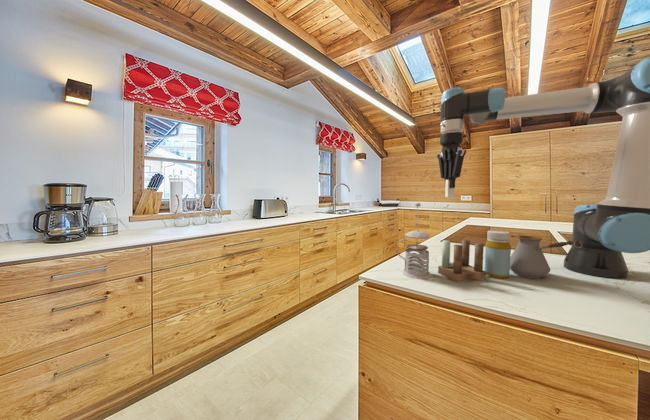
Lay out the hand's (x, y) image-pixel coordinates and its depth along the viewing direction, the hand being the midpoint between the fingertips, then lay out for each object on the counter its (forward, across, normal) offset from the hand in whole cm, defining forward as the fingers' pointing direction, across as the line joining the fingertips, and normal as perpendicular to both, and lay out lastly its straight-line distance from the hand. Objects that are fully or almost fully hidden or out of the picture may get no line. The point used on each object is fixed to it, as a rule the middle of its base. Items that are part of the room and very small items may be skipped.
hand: (449, 196), depth 93 cm
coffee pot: (+27, +21, +18) cm, 38 cm away
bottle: (+27, +14, +8) cm, 31 cm away
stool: (+26, +12, -4) cm, 29 cm away
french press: (+27, +6, -18) cm, 33 cm away
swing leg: (+24, +9, -6) cm, 26 cm away
